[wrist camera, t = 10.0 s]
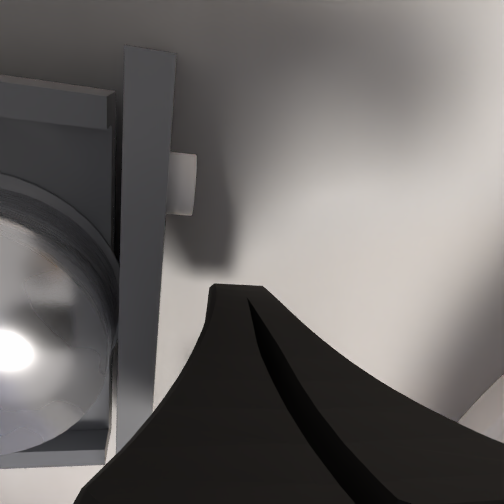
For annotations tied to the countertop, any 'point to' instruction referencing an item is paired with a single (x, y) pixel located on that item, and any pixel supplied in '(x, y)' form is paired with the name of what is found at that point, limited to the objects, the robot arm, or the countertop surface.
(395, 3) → the countertop surface
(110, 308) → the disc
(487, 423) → the plate stack
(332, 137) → the countertop surface
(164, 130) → the tray
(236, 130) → the countertop surface
